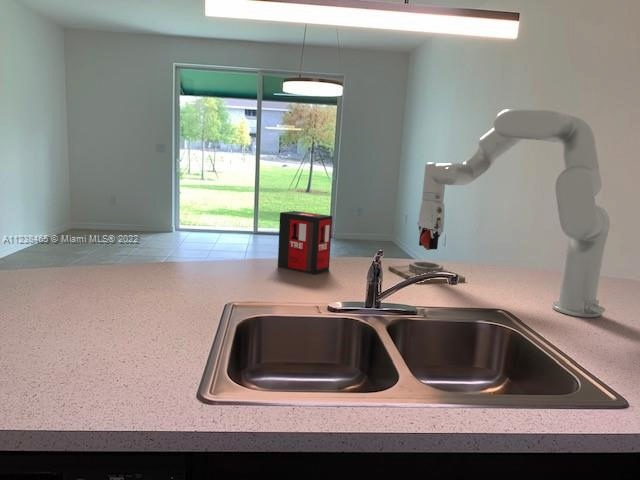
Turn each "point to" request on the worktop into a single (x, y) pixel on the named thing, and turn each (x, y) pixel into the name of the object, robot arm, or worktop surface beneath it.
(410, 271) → the cradle
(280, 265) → the cleaning product box
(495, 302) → the worktop surface
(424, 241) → the onion
